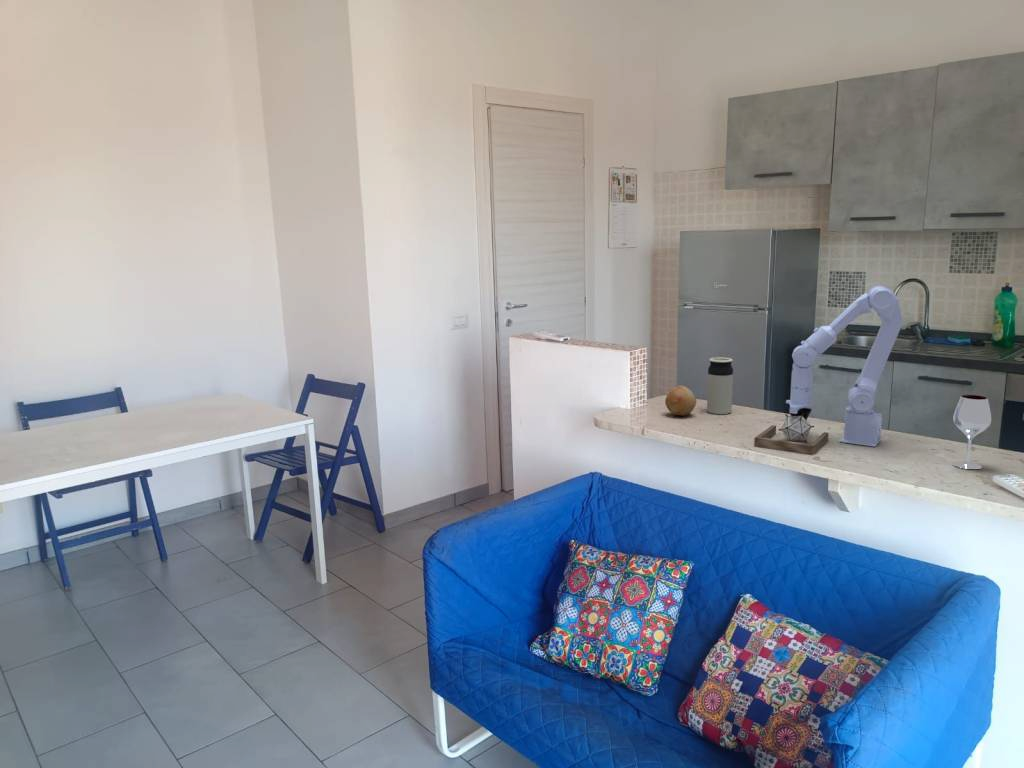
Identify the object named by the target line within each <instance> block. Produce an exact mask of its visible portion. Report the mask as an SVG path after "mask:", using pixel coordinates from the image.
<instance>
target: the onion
mask: <svg viewBox="0 0 1024 768" xmlns="http://www.w3.org/2000/svg"><path fill="white" fill-rule="evenodd" d="M664 400H665V401H664V402H665V406H666V408H667V410H668V411H669V412H670V413H671V414H673V415H675V416H683V417H684V416H688V415H689V414H690V413H692V412H693V411H694V410H695V407H696V405H697V398H696V395H695V394H694V393H693V391H692V390H691V389H690V388H688V387H687V386H684V385H676V386H674V387H673V388H672V389H670V391H669V392H667V395H666V398H665V399H664Z"/></svg>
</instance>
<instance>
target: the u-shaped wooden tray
mask: <svg viewBox="0 0 1024 768" xmlns="http://www.w3.org/2000/svg"><path fill="white" fill-rule="evenodd" d="M776 434H777V425H771V426H769V427H767V428H766V429H764V430H763V431H762V432H760V433H759V434H757V435H756V436H754V442H753V443H754V444H753V446H754V447H756V446H757V448H763V449H770V450H777V451H783V450H784V451H783V452H790V451H791V452H790V453H797V452H798V453H799V454H803V455H804V454H805V455H810V454H812V456H814V455H813V454H816V453H817V452H819V450H820V449H821V448H822V447H823V446H824V445H826V444H827V443H828V442H829V435H830V434H829V432H828V431H827V432H825V431H824V432H822V433H821V434H820V435H819V436H818V437H817V438H816V439H815V440H813V441H812V442H811V443H806V442H805V443H804V442H799V441H797V442H796V441H791V442H790V440H783V439H775V438H772V437H774V436H775V435H776ZM798 453H797V454H798Z"/></svg>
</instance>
